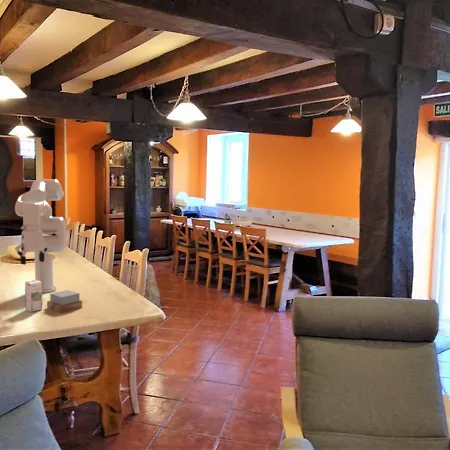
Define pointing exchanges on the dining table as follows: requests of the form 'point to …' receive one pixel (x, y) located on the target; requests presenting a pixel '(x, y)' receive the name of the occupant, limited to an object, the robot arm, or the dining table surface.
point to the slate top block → (64, 297)
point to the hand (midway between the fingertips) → (32, 262)
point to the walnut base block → (64, 306)
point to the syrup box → (33, 295)
